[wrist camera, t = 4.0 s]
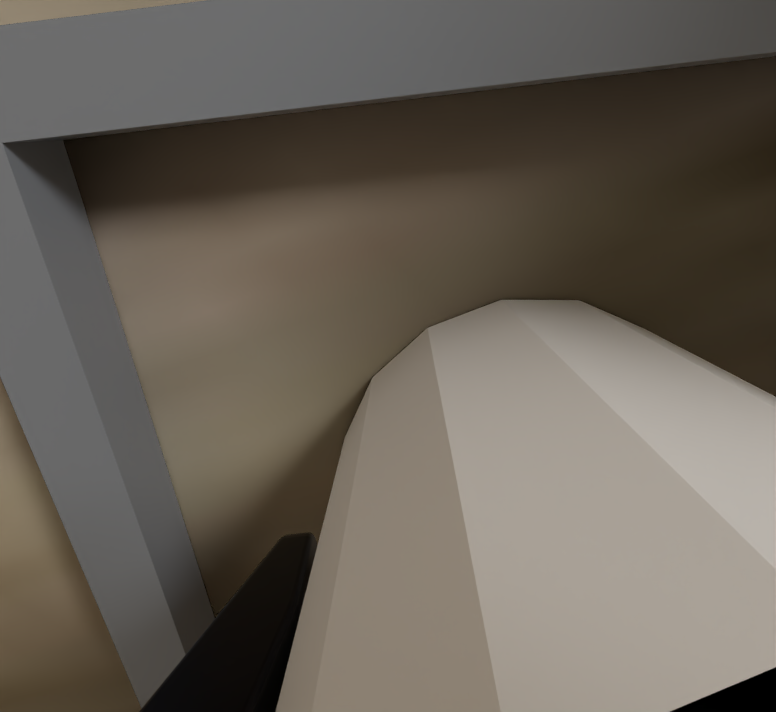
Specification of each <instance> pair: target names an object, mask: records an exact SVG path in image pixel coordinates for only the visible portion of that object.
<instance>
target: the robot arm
mask: <svg viewBox="0 0 776 712" xmlns="http://www.w3.org/2000/svg"><path fill="white" fill-rule="evenodd" d="M316 550H317V541H316V538H315V536H314V535H313V534H312V533H309V532H308V533H299V534H289V535H285V536H283V537H282V538H281V539H280V540H279V541H278V542H277V543H276V545H275V546H274V547H273V548H272V549H271V551H270V552H269V553H268V554H267V556H266V557H265V558H264V559H263V560H262V562H261V563H260V564H259V565H258V567H257V568H256V569H255V570H254V571H253V573H252V574H251V575H250V576H249V578H248V579H247V580H246V581H245V582H244V584H243V585H242V586H241V587H240V589H239V590H238V591H237V592H236V593H235V595H234V596H233V597H232V598H231V600H230V601H229V602H228V603H227V604H226V606H225V607H224V608H223V609H222V611H221V612H220V613H219V614H218V615H217V617H216V618H215V619H214V620H213V622H212V623H211V624H210V625H209V626H208V628H207V629H206V630H205V631H204V633H203V634H202V635H201V636H200V637H199V639H198V640H197V641H196V642H195V644H194V645H193V646H192V647H191V648H190V650H189V651H188V652H187V653H186V655H185V656H184V657H183V658H182V659H181V661H180V662H179V663H178V664H177V666H176V667H175V668H174V669H173V670H172V672H171V673H170V674H169V675H168V677H167V678H166V679H165V680H164V681H163V683H162V684H161V685H160V686H159V688H158V689H157V690H156V691H155V692H154V694H153V695H152V696H151V697H150V699H149V700H148V701H147V702H146V703H145V705H144V706H143V707H142V708H141V710H140V711H139V712H276V708H277V704H278V700H279V696H280V692H281V688H282V684H283V680H284V676H285V672H286V668H287V664H288V660H289V656H290V652H291V648H292V644H293V640H294V637H295V633H296V629H297V625H298V621H299V617H300V613H301V609H302V605H303V601H304V597H305V593H306V589H307V585H308V581H309V577H310V573H311V569H312V565H313V561H314V557H315V553H316Z"/></svg>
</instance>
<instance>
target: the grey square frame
mask: <svg viewBox="0 0 776 712" xmlns="http://www.w3.org/2000/svg"><path fill="white" fill-rule="evenodd" d="M773 56H776V0H207V1H199V2H191V3H182V4H174V5H166V6H157V7H149V8H141V9H132V10H124V11H116V12H107V13H99V14H91V15H83V16H74V17H66V18H58V19H49V20H41V21H33V22H24V23H16V24H8V25H0V377H1V380H2V382H3V384H4V387H5V389H6V391H7V394H8V396H9V398H10V401H11V403H12V405H13V408H14V410H15V413H16V415H17V417H18V420H19V422H20V424H21V427H22V429H23V431H24V434H25V436H26V438H27V441H28V443H29V445H30V448H31V450H32V452H33V455H34V457H35V459H36V462H37V464H38V466H39V469H40V471H41V473H42V476H43V478H44V481H45V483H46V485H47V488H48V490H49V492H50V495H51V497H52V499H53V502H54V504H55V506H56V509H57V511H58V513H59V516H60V518H61V520H62V523H63V525H64V527H65V530H66V532H67V534H68V537H69V539H70V542H71V544H72V546H73V549H74V551H75V553H76V556H77V558H78V560H79V563H80V565H81V567H82V570H83V572H84V574H85V577H86V579H87V581H88V584H89V586H90V588H91V591H92V593H93V595H94V598H95V600H96V602H97V605H98V607H99V610H100V612H101V614H102V617H103V619H104V621H105V624H106V626H107V628H108V631H109V633H110V635H111V638H112V640H113V642H114V645H115V647H116V649H117V652H118V654H119V656H120V659H121V661H122V663H123V666H124V668H125V671H126V673H127V675H128V678H129V680H130V682H131V685H132V687H133V689H134V692H135V694H136V696H137V699H138V701H139V703H140V706H141V708H142V707H143V706H144V705H145V703H146V702H147V701H148V700H149V699H150V697H151V696H152V695H153V694H154V692H155V691H156V690H157V689H158V688H159V686H160V685H161V684H162V683H163V681H164V680H165V679H166V678H167V677H168V675H169V674H170V673H171V672H172V670H173V669H174V668H175V667H176V666H177V664H178V663H179V662H180V661H181V659H182V658H183V657H184V656H185V655H186V653H187V652H188V651H189V650H190V648H191V647H192V646H193V645H194V644H195V642H196V641H197V640H198V639H199V637H200V636H201V635H202V634H203V633H204V631H205V630H206V629H207V628H208V626H209V625H210V624H211V623H212V622H213V620H214V619H215V618H214V615H213V611H212V608H211V605H210V602H209V599H208V596H207V592H206V589H205V586H204V583H203V580H202V577H201V574H200V570H199V567H198V564H197V561H196V558H195V555H194V551H193V548H192V545H191V542H190V539H189V536H188V533H187V529H186V526H185V523H184V520H183V517H182V514H181V510H180V507H179V504H178V501H177V498H176V495H175V492H174V488H173V485H172V482H171V479H170V476H169V473H168V470H167V466H166V463H165V460H164V457H163V454H162V451H161V447H160V444H159V441H158V438H157V435H156V432H155V429H154V425H153V422H152V419H151V416H150V413H149V410H148V406H147V403H146V400H145V397H144V394H143V391H142V388H141V384H140V381H139V378H138V375H137V372H136V369H135V365H134V362H133V359H132V356H131V353H130V350H129V347H128V343H127V340H126V337H125V334H124V331H123V328H122V324H121V321H120V318H119V315H118V312H117V309H116V306H115V302H114V299H113V296H112V293H111V290H110V287H109V283H108V280H107V277H106V274H105V271H104V268H103V265H102V261H101V258H100V255H99V252H98V249H97V246H96V242H95V239H94V236H93V233H92V230H91V227H90V224H89V220H88V217H87V214H86V211H85V208H84V205H83V201H82V198H81V195H80V192H79V189H78V186H77V183H76V179H75V176H74V173H73V170H72V167H71V164H70V160H69V157H68V154H67V151H66V148H65V145H64V142H63V140H67V139H76V138H84V137H93V136H101V135H110V134H118V133H127V132H135V131H144V130H152V129H161V128H169V127H178V126H186V125H195V124H203V123H212V122H220V121H229V120H237V119H246V118H254V117H263V116H271V115H280V114H288V113H297V112H305V111H314V110H323V109H331V108H340V107H348V106H357V105H365V104H374V103H382V102H391V101H399V100H408V99H416V98H425V97H433V96H442V95H450V94H459V93H467V92H476V91H484V90H493V89H501V88H510V87H518V86H527V85H535V84H544V83H552V82H561V81H569V80H578V79H586V78H595V77H603V76H612V75H620V74H629V73H637V72H646V71H654V70H663V69H671V68H680V67H688V66H697V65H705V64H714V63H722V62H731V61H739V60H748V59H756V58H765V57H773Z"/></svg>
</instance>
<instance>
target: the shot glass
mask: <svg viewBox="0 0 776 712" xmlns="http://www.w3.org/2000/svg"><path fill="white" fill-rule="evenodd" d="M276 712H776V397H775V396H773V395H771V394H769V393H768V392H766V391H764V390H762V389H760V388H758V387H756V386H754V385H752V384H750V383H748V382H746V381H744V380H742V379H741V378H739V377H737V376H735V375H733V374H731V373H729V372H727V371H725V370H723V369H721V368H719V367H717V366H715V365H714V364H712V363H710V362H708V361H706V360H704V359H702V358H700V357H698V356H696V355H694V354H692V353H690V352H688V351H687V350H685V349H683V348H681V347H679V346H677V345H675V344H673V343H671V342H669V341H667V340H665V339H663V338H661V337H659V336H658V335H656V334H654V333H652V332H650V331H648V330H646V329H644V328H642V327H639V326H637V325H635V324H633V323H630V322H628V321H626V320H623V319H621V318H619V317H617V316H614V315H612V314H610V313H607V312H605V311H603V310H600V309H598V308H596V307H594V306H591V305H589V304H587V303H584V302H582V301H580V300H499V301H497V302H494V303H491V304H489V305H486V306H483V307H481V308H478V309H476V310H473V311H470V312H468V313H465V314H462V315H460V316H457V317H455V318H452V319H449V320H447V321H444V322H441V323H439V324H436V325H434V326H431V327H428V328H427V329H426V330H424V331H423V332H422V333H421V334H420V335H419V336H418V337H417V338H416V339H415V340H413V341H412V342H411V343H410V344H409V345H408V346H407V347H406V348H405V349H403V350H402V351H401V352H400V353H399V354H398V355H397V356H396V357H395V358H393V359H392V360H391V361H390V362H389V363H388V364H387V365H386V366H385V367H383V368H382V369H381V370H380V371H379V372H378V373H377V374H376V375H375V376H373V377H372V380H371V382H370V384H369V386H368V388H367V390H366V393H365V395H364V397H363V399H362V401H361V403H360V406H359V408H358V410H357V412H356V414H355V416H354V419H353V421H352V423H351V425H350V427H349V429H348V432H347V434H346V436H345V439H344V443H343V447H342V451H341V455H340V459H339V463H338V467H337V470H336V474H335V478H334V482H333V486H332V490H331V494H330V498H329V502H328V506H327V510H326V514H325V518H324V522H323V526H322V530H321V534H320V538H319V542H318V546H317V550H316V553H315V557H314V561H313V565H312V569H311V573H310V577H309V581H308V585H307V589H306V593H305V597H304V601H303V605H302V609H301V613H300V617H299V621H298V625H297V629H296V633H295V637H294V640H293V644H292V648H291V652H290V656H289V660H288V664H287V668H286V672H285V676H284V680H283V684H282V688H281V692H280V696H279V700H278V704H277V708H276Z"/></svg>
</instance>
